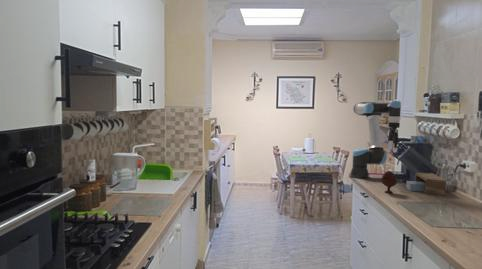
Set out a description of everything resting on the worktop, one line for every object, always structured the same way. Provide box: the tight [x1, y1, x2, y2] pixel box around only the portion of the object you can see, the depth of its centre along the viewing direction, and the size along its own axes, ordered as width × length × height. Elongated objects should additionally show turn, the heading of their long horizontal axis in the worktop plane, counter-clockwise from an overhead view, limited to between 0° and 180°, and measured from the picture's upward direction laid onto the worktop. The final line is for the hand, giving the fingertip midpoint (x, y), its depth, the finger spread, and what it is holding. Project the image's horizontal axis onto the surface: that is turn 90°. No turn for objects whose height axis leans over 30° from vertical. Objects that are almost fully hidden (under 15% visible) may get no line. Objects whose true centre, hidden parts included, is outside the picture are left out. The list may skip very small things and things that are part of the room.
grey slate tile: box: [405, 180, 426, 192], centre depth 264 cm, size 10×18×5 cm, turn 80°
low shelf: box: [414, 172, 447, 196], centre depth 263 cm, size 26×12×10 cm, turn 170°
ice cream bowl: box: [380, 170, 399, 195], centre depth 254 cm, size 11×11×15 cm
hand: (392, 150), depth 277 cm, fingers open, 13 cm apart
